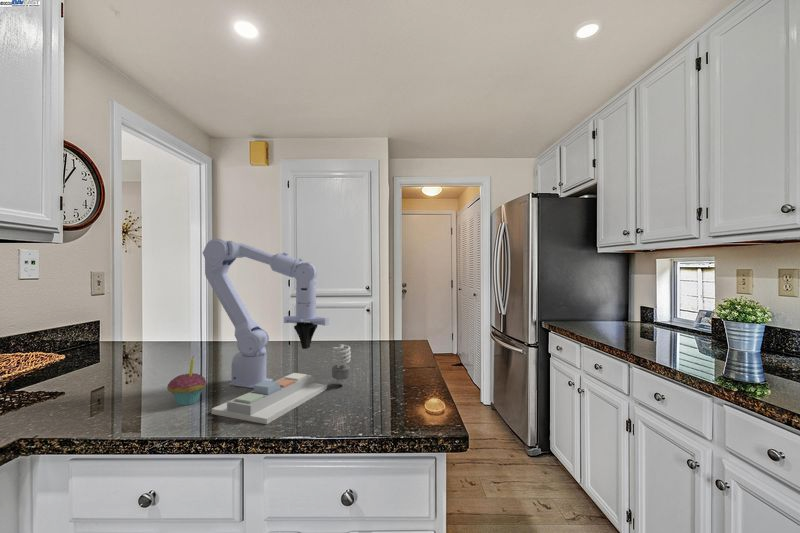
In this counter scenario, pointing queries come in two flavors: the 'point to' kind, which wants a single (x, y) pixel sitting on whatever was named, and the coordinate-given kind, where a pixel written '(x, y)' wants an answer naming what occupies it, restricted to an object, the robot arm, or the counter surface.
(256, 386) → the key slate
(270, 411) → the keypad
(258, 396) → the key sage
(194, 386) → the cupcake
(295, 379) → the key ivory
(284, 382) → the key terracotta
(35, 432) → the counter surface
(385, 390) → the counter surface
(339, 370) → the light bulb
